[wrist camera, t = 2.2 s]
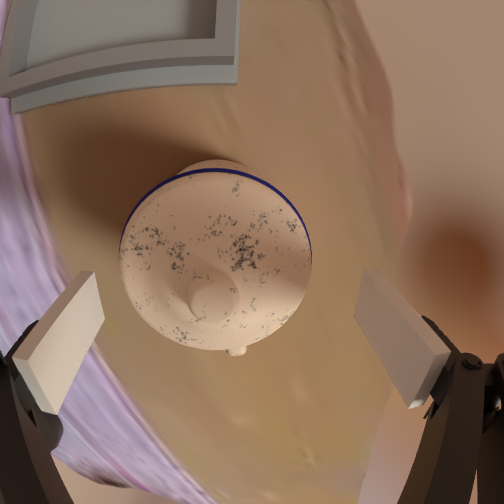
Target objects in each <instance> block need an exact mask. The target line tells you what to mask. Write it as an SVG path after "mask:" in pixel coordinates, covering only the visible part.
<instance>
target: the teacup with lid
mask: <svg viewBox="0 0 504 504" xmlns="http://www.w3.org/2000/svg"><path fill="white" fill-rule="evenodd" d="M311 264H312V252H311V244H310V239H309V235H308V232H307V229H306V227H305V224H304V222H303V220H302V218H301V216H300V215H299V213H298V211H297V210H296V208H295V207H294V206H293V205H292V203H291V202H290V201H289V200H288V199H287V198H286V197H285V196H284V195H283V194H282V193H281V192H280V191H279V190H277V189H276V188H275V187H273V186H272V185H270V184H269V183H267V182H266V181H264V180H263V179H262V178H261V177H260V176H259V175H258V174H256V173H255V172H254V171H253V170H251V169H249V168H248V167H246V166H244V165H242V164H239V163H236V162H233V161H228V160H219V159H218V160H206V161H202V162H198V163H195V164H193V165H191V166H189V167H187V168H185V169H183V170H182V171H181V172H179V173H178V174H177V175H176V176H173V177H171V178H169V179H167V180H165V181H164V182H162V183H160V184H159V185H157V186H156V187H155V188H153V189H152V190H151V191H149V192H148V193H147V194H146V195H145V196H144V197H143V198H142V199H141V200H140V202H139V203H138V204H137V205H136V207H135V208H134V210H133V211H132V213H131V214H130V216H129V218H128V220H127V222H126V224H125V227H124V230H123V233H122V237H121V241H120V248H119V267H120V274H121V280H122V283H123V286H124V289H125V292H126V294H127V296H128V298H129V300H130V302H131V304H132V305H133V307H134V308H135V310H136V311H137V312H138V314H139V315H140V316H141V317H142V318H143V319H144V320H145V322H146V323H147V324H149V325H150V326H151V327H152V328H153V329H155V330H156V331H157V332H159V333H160V334H162V335H163V336H165V337H167V338H169V339H171V340H173V341H175V342H177V343H180V344H182V345H186V346H189V347H193V348H198V349H205V350H226V351H227V353H228V354H229V355H231V356H238V355H243V354H244V353H245V352H246V349H247V346H246V345H249V344H252V343H255V342H257V341H259V340H261V339H263V338H265V337H267V336H268V335H270V334H271V333H273V332H274V331H276V330H277V329H278V328H279V327H281V326H282V325H283V324H284V323H285V322H286V321H287V320H288V319H289V318H290V316H291V315H292V314H293V313H294V311H295V310H296V308H297V307H298V306H299V304H300V302H301V300H302V298H303V296H304V294H305V292H306V289H307V286H308V283H309V278H310V273H311Z"/></svg>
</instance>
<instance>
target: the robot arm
mask: <svg viewBox="0 0 504 504" xmlns="http://www.w3.org/2000/svg"><path fill="white" fill-rule="evenodd" d="M354 318H355V319H356V321H357V323H358V324H359V326H360V327H361V329H362V331H363V332H364V334H365V335H366V337H367V339H368V340H369V342H370V344H371V345H372V347H373V349H374V350H375V352H376V354H377V355H378V357H379V359H380V360H381V362H382V364H383V365H384V367H385V369H386V370H387V372H388V374H389V376H390V377H391V379H392V381H393V382H394V384H395V386H396V388H397V389H398V391H399V393H400V395H401V396H402V398H403V400H404V402H405V403H406V405H407V407H408V409H410V408H414V407H417V406H420V405H424V403H425V402H426V400H427V398H428V396H429V395H431V396H432V398H433V399H434V401H433V402H432V404H431V406H430V407H429V409H428V411H427V412H426V415H425V416H424V417H423V418H424V419H426V417H427V416H428V418H427V421H426V425H425V428H424V432H423V435H422V439H421V442H420V445H419V448H418V451H417V454H416V457H415V460H414V463H413V466H412V468H411V471H410V474H409V476H408V479H407V481H406V484H405V486H404V489H403V491H402V494H401V496H400V498H399V500H398V503H397V504H469V501H470V497H471V493H472V488H473V484H474V479H475V474H476V469H477V490H478V504H504V353H503V354H500V355H498V357H497V359H496V361H495V363H494V364H483V362H482V361H481V359H479V358H478V357H477V356H475V355H473V354H471V353H460V351H459V350H458V349H457V348H456V347H455V346H454V344H453V343H452V342H451V341H450V340H449V339H448V338H447V336H445V335H444V333H443V332H442V331H441V330H439V328H438V326H437V325H436V324H435V323H434V322H433V321H431V320H430V319H428V318H427V317H425V316H420V315H419V314H418V313H417V312H416V311H415V309H414V308H413V307H412V306H411V305H410V304H409V303H408V302H407V301H406V300H405V299H404V297H403V296H402V295H401V294H400V293H399V292H398V291H397V290H396V289H395V288H394V287H393V286H392V285H391V284H390V283H389V282H388V281H387V280H386V278H385V277H384V276H383V275H382V274H381V273H380V272H379V271H378V270H364V271H363V276H362V281H361V286H360V291H359V296H358V301H357V305H356V310H355V314H354ZM104 320H105V318H104V314H103V310H102V306H101V301H100V297H99V292H98V288H97V283H96V278H95V273H94V272H87V271H81V272H80V273H79V274H78V275H77V276H76V278H75V279H74V280H73V281H72V282H71V283H70V284H69V286H68V287H67V288H66V289H65V290H64V291H63V292H62V294H61V295H60V296H59V297H58V298H57V300H56V301H55V302H54V303H53V304H52V306H51V307H50V308H49V309H48V310H47V312H46V313H45V314H44V315H43V317H42V318H41V319H40V320H36V321H35V322H34V323H32V324H31V325H29V326H28V327H27V328H26V330H25V331H24V332H23V333H22V335H21V336H20V337H19V339H18V341H16V343H15V344H14V345H13V346H12V348H11V349H10V350H9V352H8V353H7V355H6V356H5V357H3V355H2V353H1V351H0V504H74V503H73V501H72V499H71V497H70V495H69V493H68V491H67V489H66V487H65V485H64V483H63V481H62V479H61V477H60V475H59V473H58V470H57V468H56V466H55V464H54V461H53V459H52V457H51V454H50V453H51V451H52V450H53V449H55V448H56V447H57V446H58V444H59V442H60V440H61V437H62V434H63V426H62V423H61V421H60V419H59V417H58V416H57V414H58V412H59V409H60V407H61V405H62V403H63V401H64V398H65V396H66V394H67V392H68V390H69V388H70V386H71V383H72V381H73V379H74V377H75V375H76V373H77V371H78V369H79V367H80V365H81V363H82V361H83V359H84V357H85V355H86V353H87V351H88V349H89V348H90V346H91V344H92V342H93V340H94V338H95V336H96V334H97V333H98V331H99V329H100V327H101V325H102V323H103V322H104ZM500 402H501V410H500V409H499V406H498V405H499V403H500Z"/></svg>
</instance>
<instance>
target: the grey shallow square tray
mask: <svg viewBox="0 0 504 504" xmlns="http://www.w3.org/2000/svg"><path fill="white" fill-rule="evenodd" d="M239 23H240V0H12V3H11V6H10V10H9V14H8V18H7V23H6V27H5V32H4V37H3V43H2V49H1V55H0V97H5V98H11V114H18V113H22V112H25V111H29V110H32V109H36V108H40V107H44V106H48V105H52V104H56V103H60V102H65V101H69V100H74V99H79V98H84V97H90V96H96V95H102V94H108V93H115V92H122V91H130V90H138V89H148V88H159V87H173V86H193V85H237V79H238V49H239Z"/></svg>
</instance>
